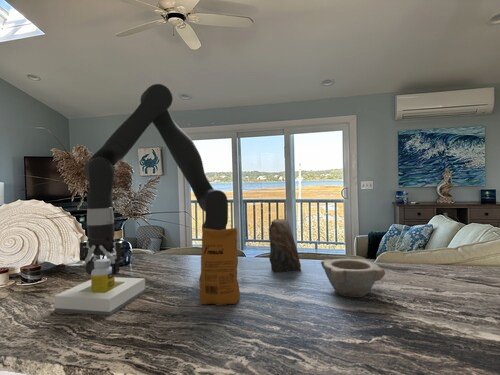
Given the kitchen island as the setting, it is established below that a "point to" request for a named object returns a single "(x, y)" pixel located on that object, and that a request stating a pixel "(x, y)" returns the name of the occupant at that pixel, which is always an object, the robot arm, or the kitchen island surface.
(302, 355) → the kitchen island surface
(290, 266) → the brown rock
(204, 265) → the coffee package
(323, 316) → the kitchen island surface
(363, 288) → the mortar
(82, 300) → the socket block
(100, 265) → the pill bottle
